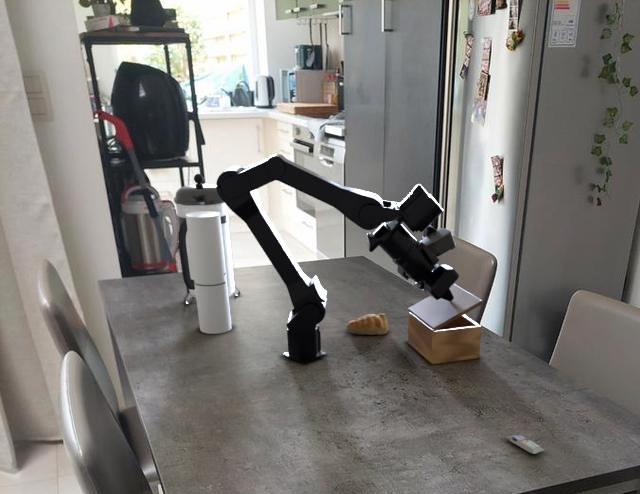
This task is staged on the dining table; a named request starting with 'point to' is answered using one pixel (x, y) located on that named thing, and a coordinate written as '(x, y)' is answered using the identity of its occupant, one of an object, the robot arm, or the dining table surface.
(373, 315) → the pastry
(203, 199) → the coffee press
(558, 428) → the dining table surface
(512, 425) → the dining table surface
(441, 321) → the lid
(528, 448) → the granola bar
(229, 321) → the cylindrical container
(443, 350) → the caddy
